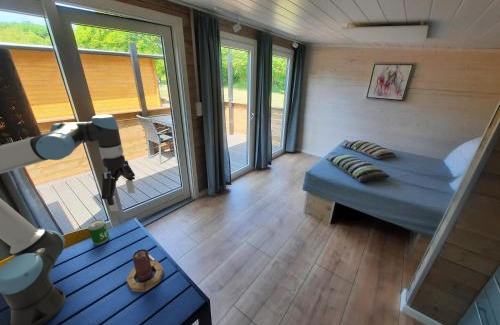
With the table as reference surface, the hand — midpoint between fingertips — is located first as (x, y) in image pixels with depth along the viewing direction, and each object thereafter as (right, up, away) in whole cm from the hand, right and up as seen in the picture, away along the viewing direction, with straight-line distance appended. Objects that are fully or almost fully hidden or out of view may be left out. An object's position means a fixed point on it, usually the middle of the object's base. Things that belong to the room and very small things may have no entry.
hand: (123, 201), depth 91 cm
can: (+7, -36, +5) cm, 37 cm away
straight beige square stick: (+3, -31, +16) cm, 35 cm away
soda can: (-27, -26, +25) cm, 45 cm away
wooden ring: (+7, -36, +5) cm, 37 cm away
